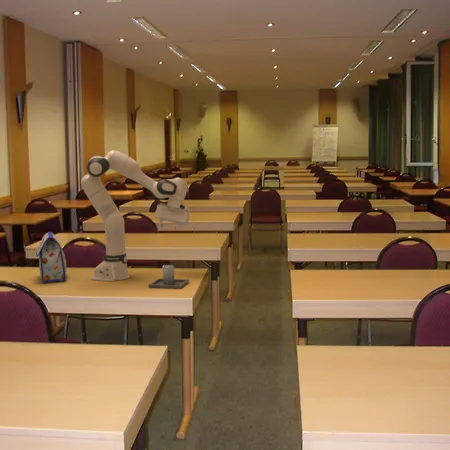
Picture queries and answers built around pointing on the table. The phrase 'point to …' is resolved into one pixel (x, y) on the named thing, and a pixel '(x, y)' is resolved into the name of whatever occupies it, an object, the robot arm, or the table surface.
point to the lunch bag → (51, 259)
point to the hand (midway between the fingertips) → (168, 228)
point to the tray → (178, 285)
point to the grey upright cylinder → (168, 275)
